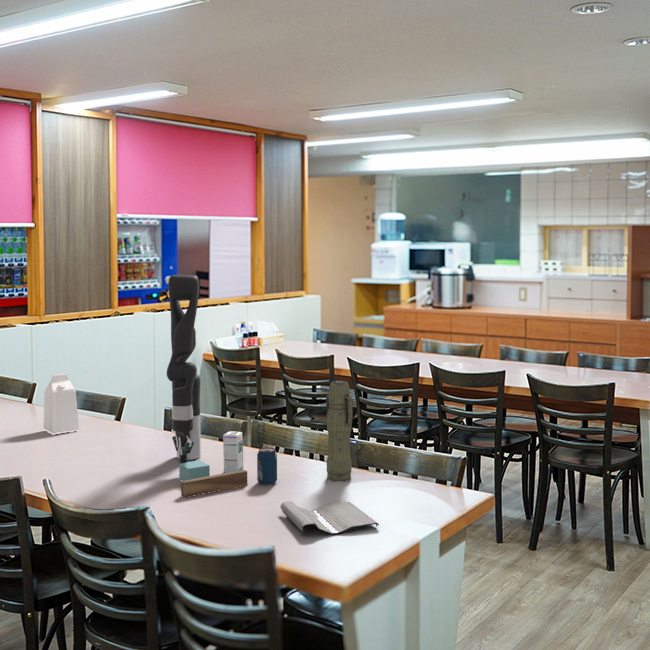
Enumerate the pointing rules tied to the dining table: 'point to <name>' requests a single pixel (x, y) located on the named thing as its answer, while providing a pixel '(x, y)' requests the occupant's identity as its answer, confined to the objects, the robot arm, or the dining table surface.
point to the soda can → (267, 466)
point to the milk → (60, 405)
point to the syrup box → (233, 451)
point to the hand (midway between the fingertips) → (183, 464)
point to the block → (193, 470)
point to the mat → (328, 516)
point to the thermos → (339, 431)
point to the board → (213, 483)
